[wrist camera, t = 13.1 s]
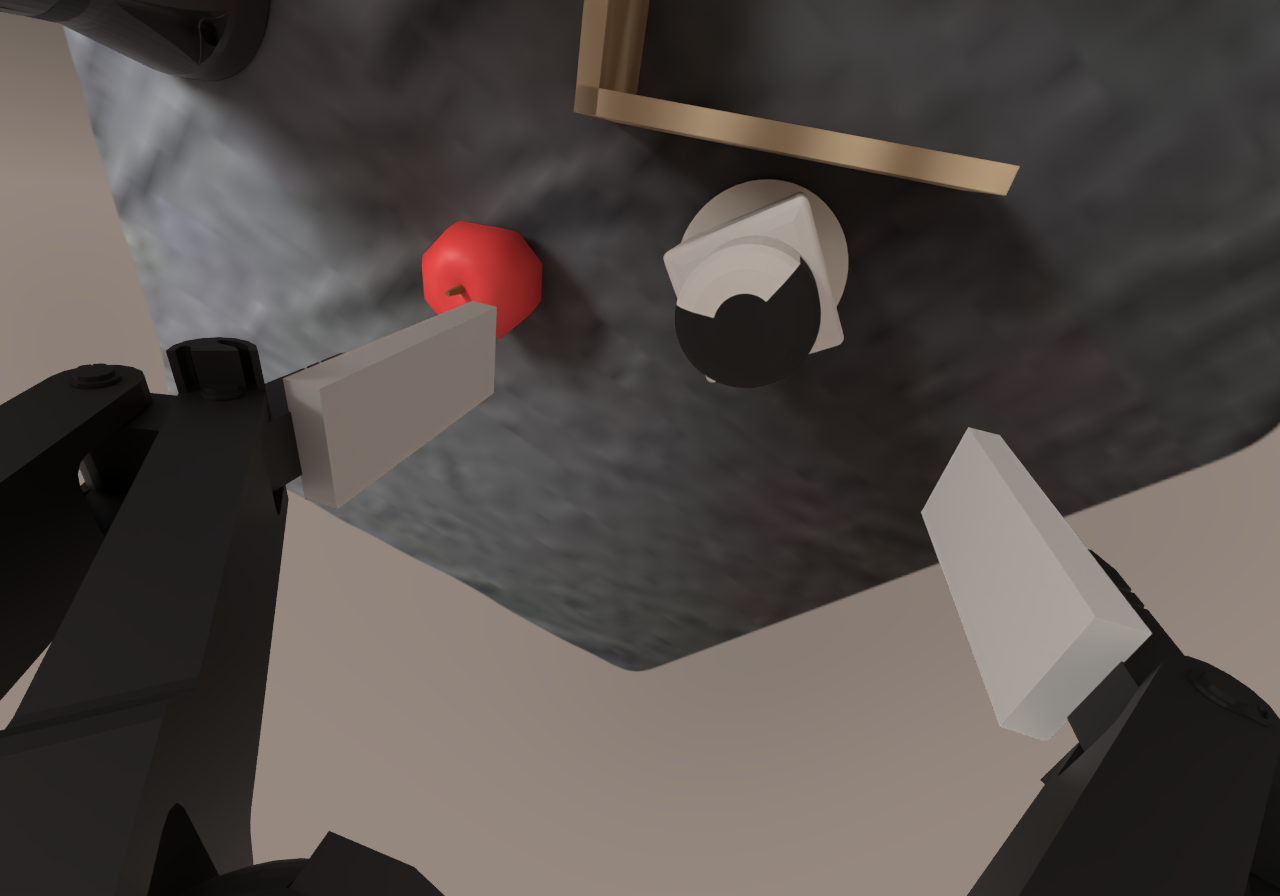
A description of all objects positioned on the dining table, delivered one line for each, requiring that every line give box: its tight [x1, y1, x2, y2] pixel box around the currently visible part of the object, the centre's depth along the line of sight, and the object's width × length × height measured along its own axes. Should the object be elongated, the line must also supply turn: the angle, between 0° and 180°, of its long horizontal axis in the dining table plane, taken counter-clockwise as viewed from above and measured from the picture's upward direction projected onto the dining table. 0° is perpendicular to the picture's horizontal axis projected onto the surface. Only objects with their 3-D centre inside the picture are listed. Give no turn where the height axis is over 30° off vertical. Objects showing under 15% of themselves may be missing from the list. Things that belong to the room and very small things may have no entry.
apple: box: [422, 221, 542, 338], centre depth 36 cm, size 8×8×8 cm
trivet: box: [681, 179, 848, 307], centre depth 35 cm, size 11×11×1 cm
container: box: [663, 192, 844, 388], centre depth 29 cm, size 8×8×13 cm
